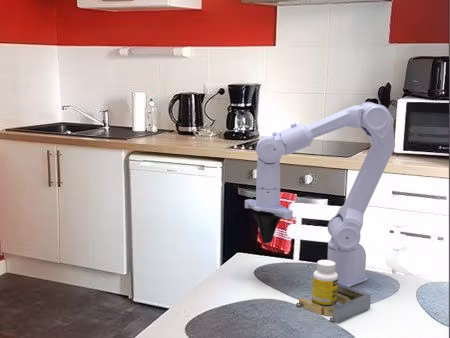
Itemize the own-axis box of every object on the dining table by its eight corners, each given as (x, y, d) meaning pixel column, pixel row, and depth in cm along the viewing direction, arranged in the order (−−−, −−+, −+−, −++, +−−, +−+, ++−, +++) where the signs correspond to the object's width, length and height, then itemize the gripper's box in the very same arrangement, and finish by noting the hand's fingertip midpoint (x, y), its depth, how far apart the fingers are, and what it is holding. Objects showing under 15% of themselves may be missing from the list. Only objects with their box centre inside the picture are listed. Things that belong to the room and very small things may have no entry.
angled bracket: (327, 291, 134) (327, 278, 134) (371, 308, 125) (372, 295, 124) (291, 304, 127) (292, 291, 126) (336, 324, 117) (336, 310, 117)
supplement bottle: (335, 311, 123) (337, 267, 122) (310, 308, 125) (312, 265, 123) (337, 301, 128) (339, 259, 127) (313, 298, 130) (315, 257, 128)
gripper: (235, 184, 139) (235, 237, 142) (277, 194, 128) (276, 252, 131) (256, 180, 144) (256, 232, 146) (299, 190, 133) (297, 246, 135)
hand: (267, 241), depth 139 cm, fingers closed
